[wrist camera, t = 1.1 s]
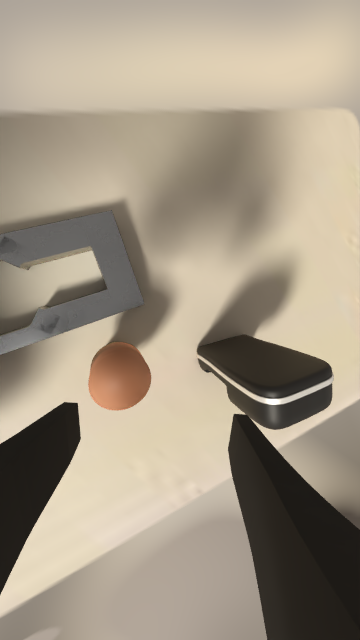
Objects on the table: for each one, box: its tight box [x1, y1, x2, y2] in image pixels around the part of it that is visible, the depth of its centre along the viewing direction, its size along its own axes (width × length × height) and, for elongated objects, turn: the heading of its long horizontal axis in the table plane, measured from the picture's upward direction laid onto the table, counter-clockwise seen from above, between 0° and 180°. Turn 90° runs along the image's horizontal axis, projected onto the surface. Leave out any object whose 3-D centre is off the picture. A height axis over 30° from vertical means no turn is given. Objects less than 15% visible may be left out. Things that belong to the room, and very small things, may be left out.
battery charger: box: [197, 335, 334, 430], centre depth 20 cm, size 7×4×11 cm, turn 100°
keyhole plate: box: [0, 210, 144, 355], centre depth 17 cm, size 14×8×2 cm, turn 108°
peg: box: [88, 342, 151, 410], centre depth 18 cm, size 4×4×6 cm
